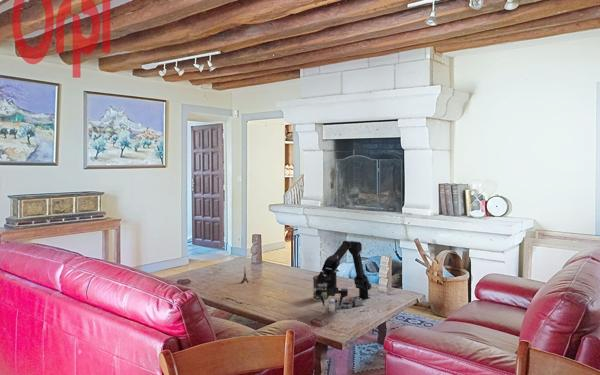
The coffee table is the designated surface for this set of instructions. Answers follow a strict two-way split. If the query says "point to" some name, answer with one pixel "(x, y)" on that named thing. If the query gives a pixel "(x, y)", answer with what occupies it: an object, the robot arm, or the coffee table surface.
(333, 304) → the cartridge
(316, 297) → the coffee can
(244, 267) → the eiffel tower figurine
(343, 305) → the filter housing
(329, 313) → the rubber pad
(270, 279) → the coffee table surface
